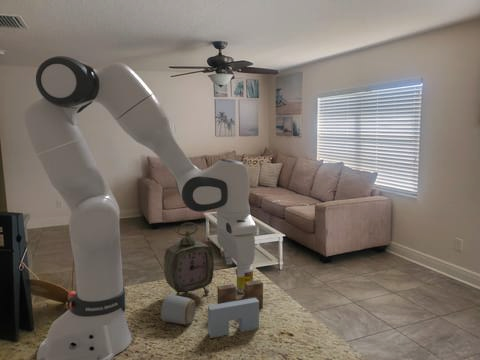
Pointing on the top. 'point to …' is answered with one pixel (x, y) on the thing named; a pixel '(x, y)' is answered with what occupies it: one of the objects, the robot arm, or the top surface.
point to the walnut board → (251, 291)
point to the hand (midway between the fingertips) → (234, 269)
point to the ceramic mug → (178, 309)
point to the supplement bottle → (244, 279)
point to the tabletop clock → (188, 264)
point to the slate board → (233, 316)
